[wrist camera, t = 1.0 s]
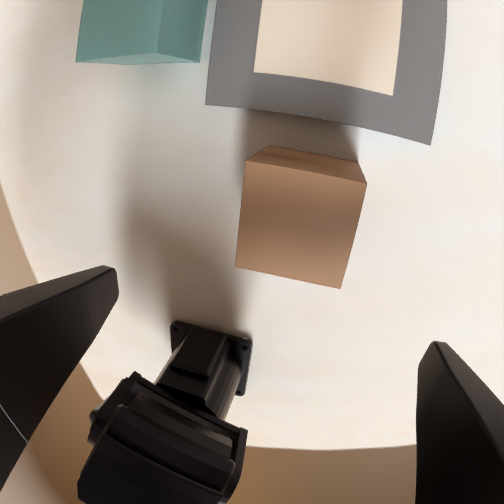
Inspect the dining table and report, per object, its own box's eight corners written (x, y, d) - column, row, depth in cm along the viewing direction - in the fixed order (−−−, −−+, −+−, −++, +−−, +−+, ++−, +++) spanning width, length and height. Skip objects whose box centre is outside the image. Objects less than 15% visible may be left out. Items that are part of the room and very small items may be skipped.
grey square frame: (425, 143, 15) (431, 146, 14) (211, 104, 17) (203, 104, 16) (442, -29, 10) (447, -36, 9) (233, -59, 12) (227, -68, 11)
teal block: (200, 62, 16) (156, 52, 12) (128, 65, 17) (75, 62, 12) (210, -13, 14) (171, -42, 9) (137, -5, 15) (88, -22, 10)
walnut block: (340, 244, 19) (340, 288, 14) (258, 227, 20) (234, 266, 15) (358, 162, 17) (367, 184, 12) (268, 145, 17) (245, 160, 13)
